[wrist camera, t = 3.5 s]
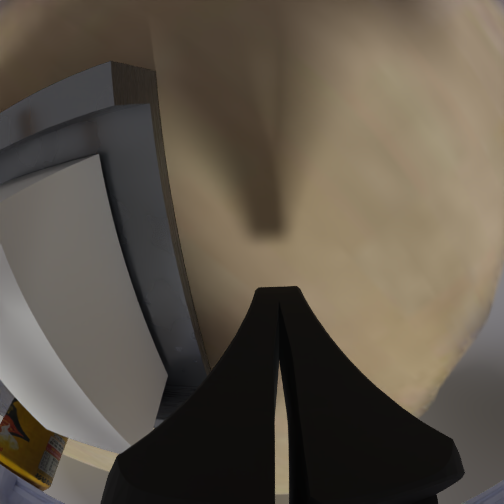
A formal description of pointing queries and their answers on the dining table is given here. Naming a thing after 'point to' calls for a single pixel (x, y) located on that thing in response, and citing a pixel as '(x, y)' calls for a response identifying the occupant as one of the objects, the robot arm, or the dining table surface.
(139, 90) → the gauge frame
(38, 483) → the condiment
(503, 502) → the robot arm
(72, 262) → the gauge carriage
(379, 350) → the dining table surface
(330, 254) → the dining table surface
